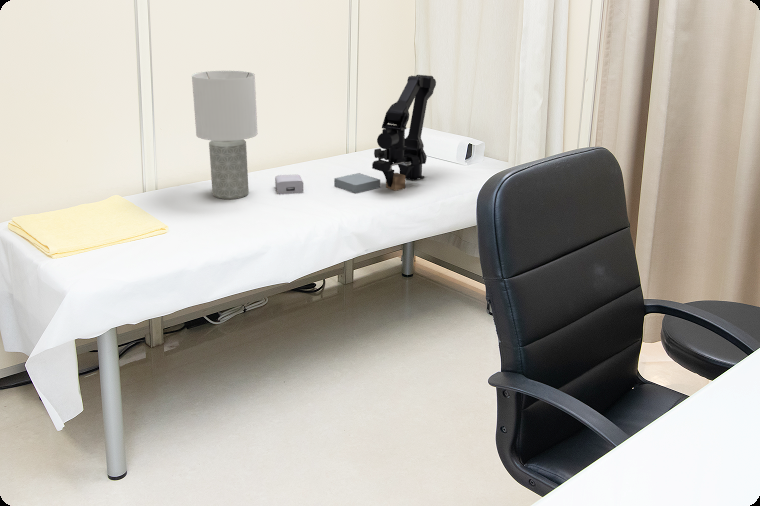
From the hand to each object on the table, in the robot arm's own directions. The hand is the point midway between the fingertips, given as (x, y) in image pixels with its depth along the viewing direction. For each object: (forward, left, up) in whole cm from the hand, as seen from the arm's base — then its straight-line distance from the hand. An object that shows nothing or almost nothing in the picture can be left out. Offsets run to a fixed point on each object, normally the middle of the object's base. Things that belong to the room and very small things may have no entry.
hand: (395, 185), depth 273 cm
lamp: (+51, -31, -1) cm, 60 cm away
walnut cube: (0, 0, -1) cm, 1 cm away
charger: (+30, -25, -2) cm, 39 cm away
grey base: (+10, -10, -1) cm, 14 cm away
